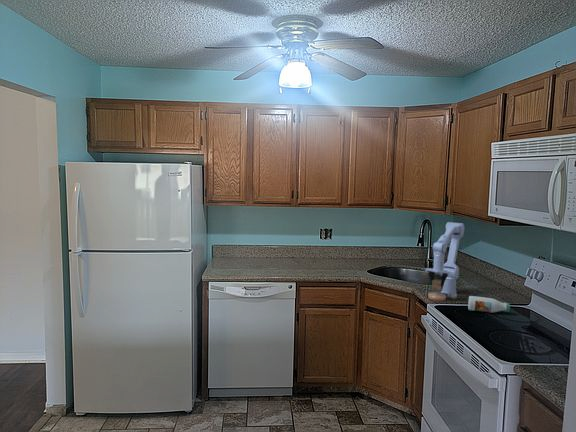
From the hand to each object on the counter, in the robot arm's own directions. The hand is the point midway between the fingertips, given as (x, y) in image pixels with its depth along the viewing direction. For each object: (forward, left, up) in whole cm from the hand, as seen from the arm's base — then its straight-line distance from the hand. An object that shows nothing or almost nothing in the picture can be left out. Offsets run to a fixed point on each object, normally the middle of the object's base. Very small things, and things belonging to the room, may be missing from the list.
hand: (437, 285), depth 250 cm
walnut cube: (0, 0, -2) cm, 2 cm away
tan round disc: (0, 0, -8) cm, 8 cm away
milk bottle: (+10, +20, -4) cm, 22 cm away
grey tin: (-7, +7, -8) cm, 13 cm away
